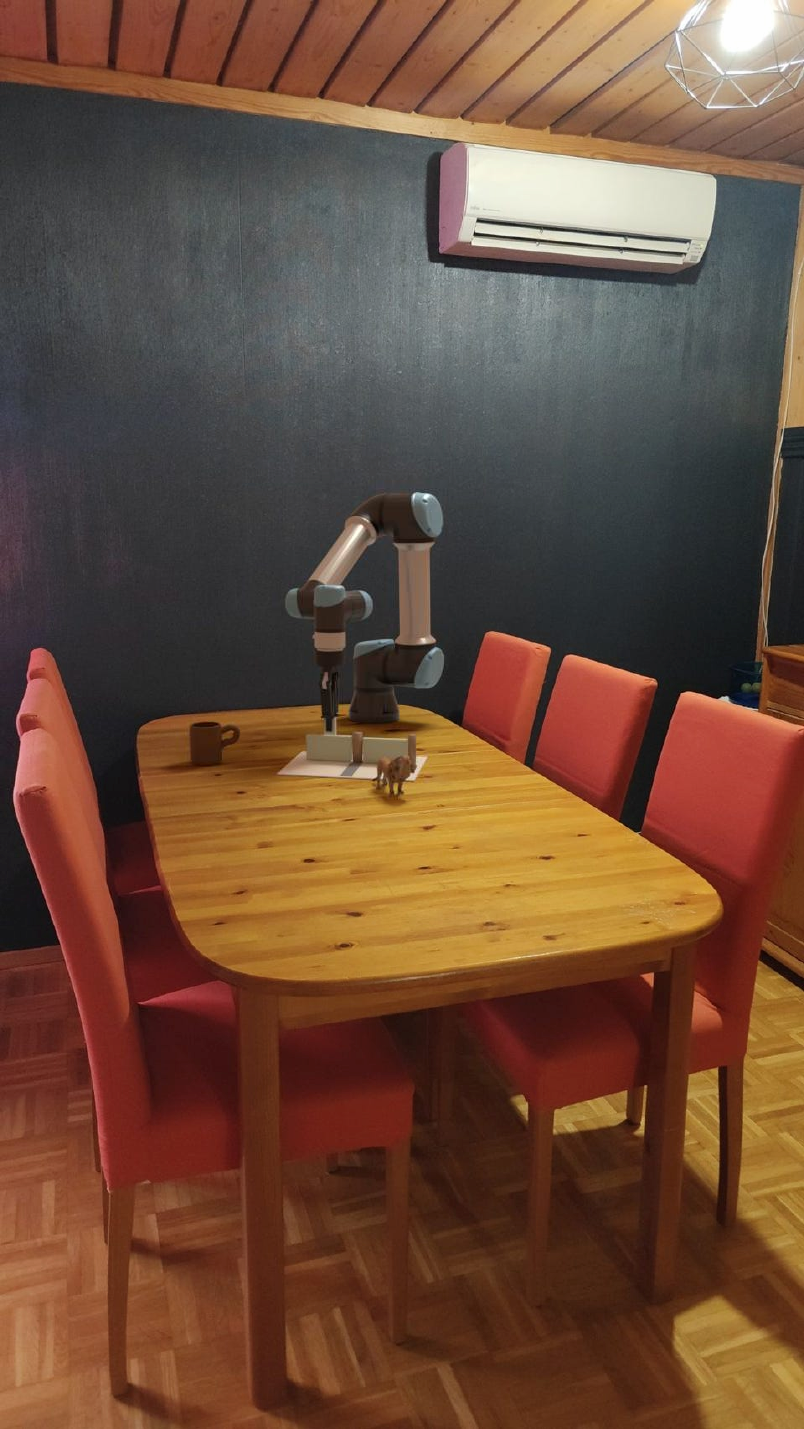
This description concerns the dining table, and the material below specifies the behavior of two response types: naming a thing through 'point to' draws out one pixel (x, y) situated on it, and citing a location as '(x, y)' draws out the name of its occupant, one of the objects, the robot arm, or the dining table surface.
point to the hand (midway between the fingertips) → (330, 743)
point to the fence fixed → (382, 748)
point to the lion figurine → (394, 772)
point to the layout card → (339, 768)
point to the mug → (209, 742)
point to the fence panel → (329, 747)
